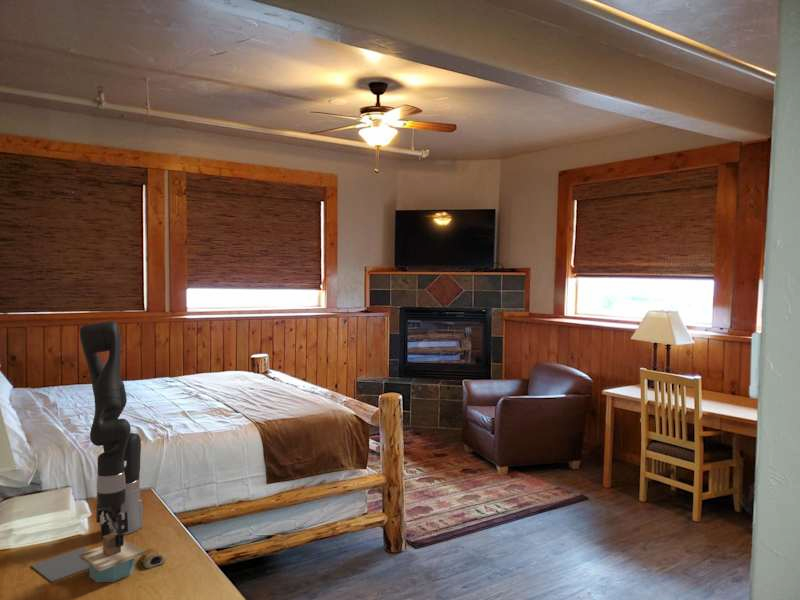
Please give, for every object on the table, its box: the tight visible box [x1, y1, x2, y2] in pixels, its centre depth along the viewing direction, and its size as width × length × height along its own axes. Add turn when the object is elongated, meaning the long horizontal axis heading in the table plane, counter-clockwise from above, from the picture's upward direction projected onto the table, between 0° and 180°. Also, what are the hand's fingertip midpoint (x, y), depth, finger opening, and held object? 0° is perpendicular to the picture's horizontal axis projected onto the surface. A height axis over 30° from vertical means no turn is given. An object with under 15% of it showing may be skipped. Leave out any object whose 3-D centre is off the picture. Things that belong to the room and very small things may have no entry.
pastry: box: [140, 548, 167, 569], centre depth 180 cm, size 9×7×4 cm
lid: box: [79, 532, 145, 571], centre depth 172 cm, size 13×13×6 cm
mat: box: [30, 547, 90, 584], centre depth 177 cm, size 15×15×1 cm
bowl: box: [89, 558, 136, 583], centre depth 173 cm, size 11×11×5 cm
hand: (112, 542), depth 172 cm, fingers open, 8 cm apart
